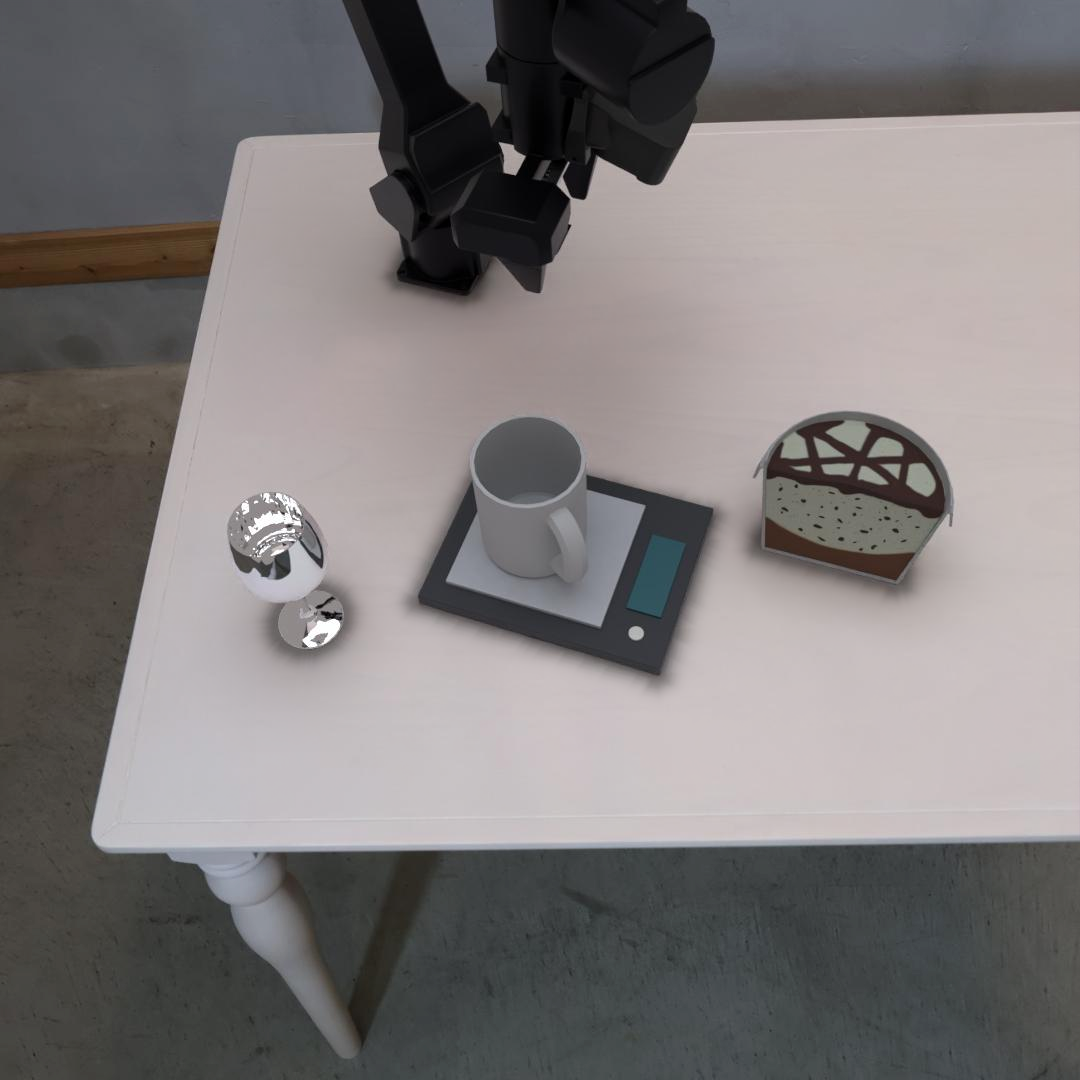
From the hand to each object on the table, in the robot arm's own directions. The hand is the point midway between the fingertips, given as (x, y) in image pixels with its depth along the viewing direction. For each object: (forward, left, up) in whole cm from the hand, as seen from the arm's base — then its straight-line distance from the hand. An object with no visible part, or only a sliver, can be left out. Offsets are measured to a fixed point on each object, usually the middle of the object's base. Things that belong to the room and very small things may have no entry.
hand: (556, 242), depth 76 cm
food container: (+23, -8, -13) cm, 28 cm away
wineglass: (-9, -26, -13) cm, 31 cm away
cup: (+5, -17, -12) cm, 21 cm away
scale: (+6, -16, -13) cm, 21 cm away
